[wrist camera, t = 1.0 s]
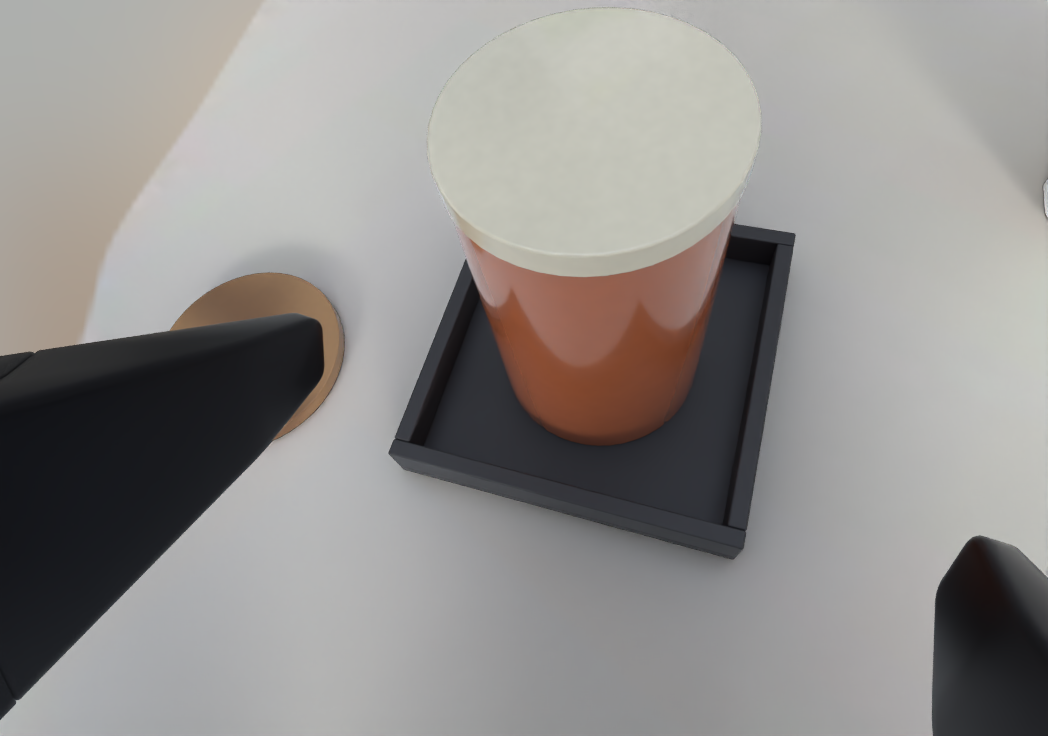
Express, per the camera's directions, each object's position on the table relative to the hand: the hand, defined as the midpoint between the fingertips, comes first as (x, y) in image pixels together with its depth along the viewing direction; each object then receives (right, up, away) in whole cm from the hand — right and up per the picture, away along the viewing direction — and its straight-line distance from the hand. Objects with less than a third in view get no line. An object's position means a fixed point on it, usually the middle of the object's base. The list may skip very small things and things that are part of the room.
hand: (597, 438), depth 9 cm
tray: (+2, +1, +17) cm, 17 cm away
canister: (+2, +1, +16) cm, 17 cm away
